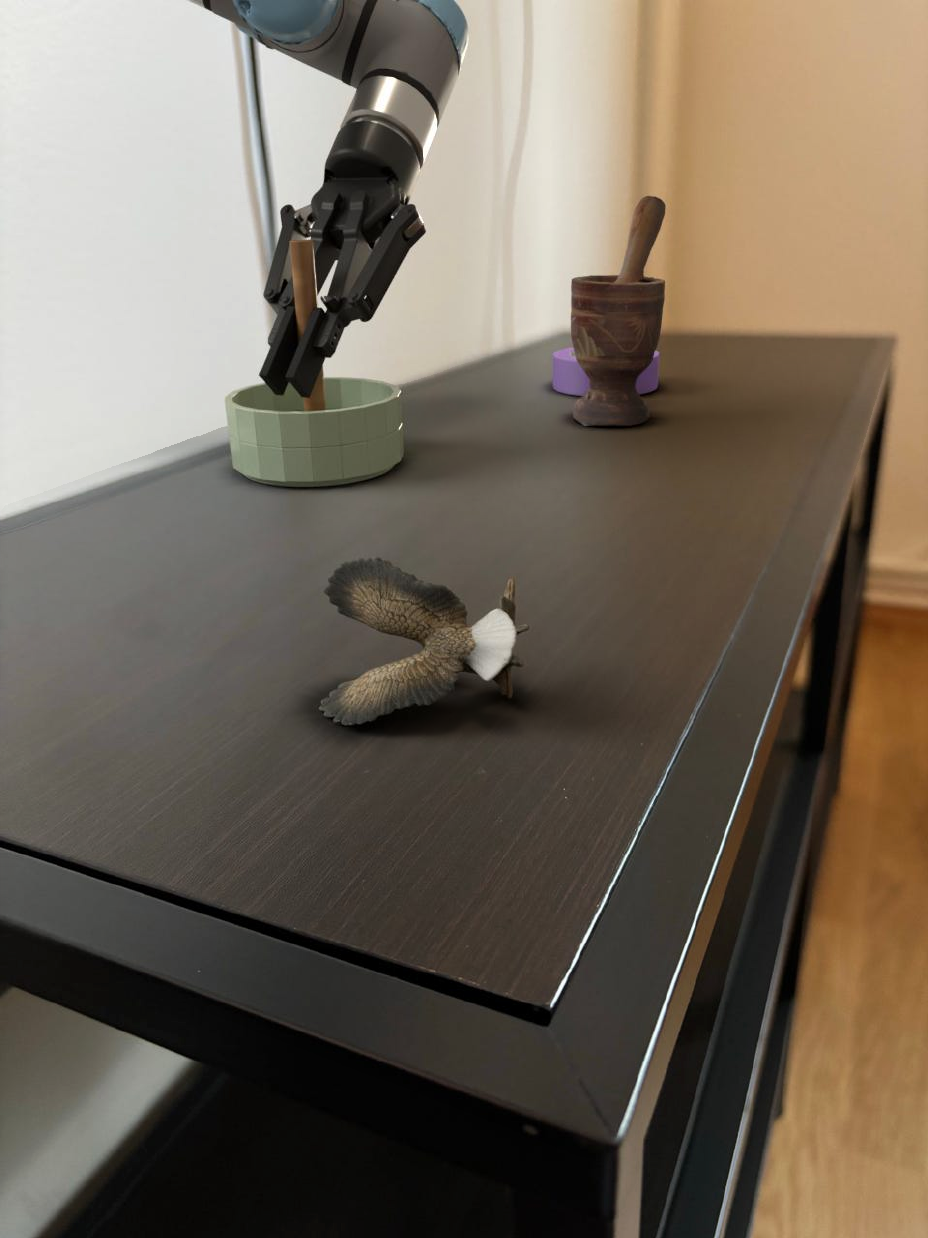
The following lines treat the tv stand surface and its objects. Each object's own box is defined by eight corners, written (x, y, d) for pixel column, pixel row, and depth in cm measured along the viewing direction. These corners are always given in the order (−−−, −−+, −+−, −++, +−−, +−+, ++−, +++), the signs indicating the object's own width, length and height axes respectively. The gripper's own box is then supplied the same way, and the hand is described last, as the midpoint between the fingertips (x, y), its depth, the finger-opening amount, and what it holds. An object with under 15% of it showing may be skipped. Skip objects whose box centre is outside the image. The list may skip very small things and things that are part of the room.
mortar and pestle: (578, 401, 104) (584, 195, 96) (661, 404, 102) (675, 194, 94) (561, 427, 94) (566, 199, 86) (653, 431, 92) (668, 197, 84)
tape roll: (533, 391, 109) (533, 356, 108) (582, 374, 118) (583, 341, 116) (630, 402, 103) (632, 365, 102) (674, 383, 112) (676, 348, 110)
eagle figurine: (495, 624, 51) (319, 606, 49) (533, 539, 45) (334, 516, 43) (503, 760, 46) (310, 746, 45) (545, 686, 41) (326, 668, 39)
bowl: (211, 489, 77) (201, 413, 75) (257, 443, 90) (250, 377, 88) (391, 489, 76) (387, 412, 74) (412, 443, 89) (409, 376, 87)
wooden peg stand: (278, 465, 81) (256, 243, 74) (293, 447, 86) (274, 238, 79) (346, 465, 80) (330, 241, 73) (357, 447, 85) (343, 237, 78)
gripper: (472, 184, 84) (385, 420, 77) (325, 186, 90) (232, 406, 83) (442, 111, 77) (344, 363, 71) (286, 119, 83) (182, 352, 77)
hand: (284, 386), depth 77 cm, fingers closed on wooden peg stand, 2 cm apart
